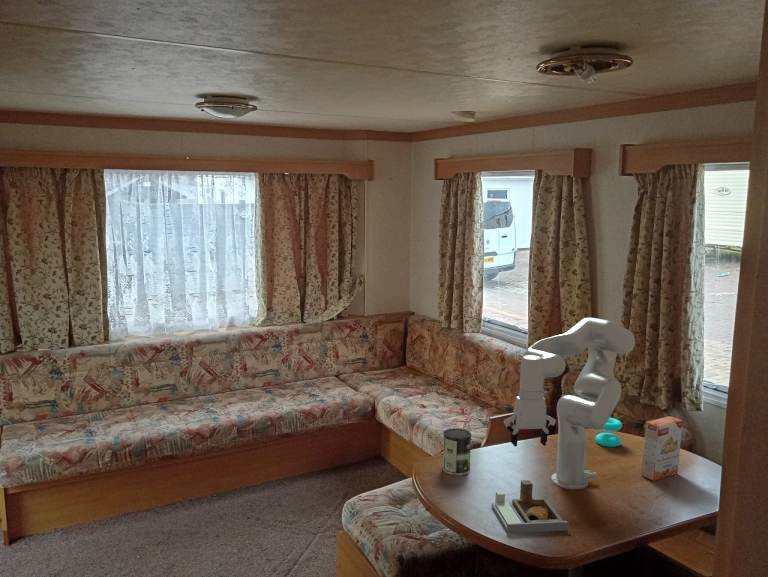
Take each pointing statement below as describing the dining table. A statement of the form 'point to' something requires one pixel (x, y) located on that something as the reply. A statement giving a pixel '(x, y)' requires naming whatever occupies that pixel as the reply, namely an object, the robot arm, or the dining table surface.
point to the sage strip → (505, 509)
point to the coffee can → (456, 451)
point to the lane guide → (530, 524)
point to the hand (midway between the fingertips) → (528, 444)
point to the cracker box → (661, 447)
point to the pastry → (537, 513)
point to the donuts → (609, 438)
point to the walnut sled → (532, 503)
